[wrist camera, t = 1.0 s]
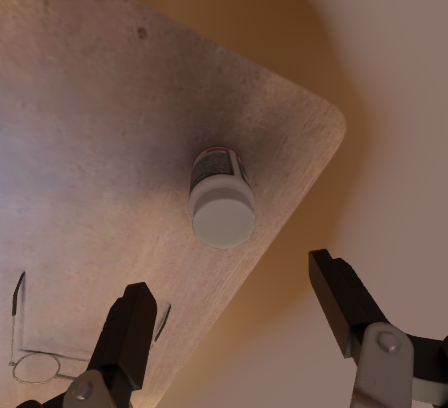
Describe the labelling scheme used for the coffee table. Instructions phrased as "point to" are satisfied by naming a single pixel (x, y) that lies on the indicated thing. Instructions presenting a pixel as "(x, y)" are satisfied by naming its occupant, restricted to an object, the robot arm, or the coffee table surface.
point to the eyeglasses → (49, 354)
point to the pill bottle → (221, 199)
